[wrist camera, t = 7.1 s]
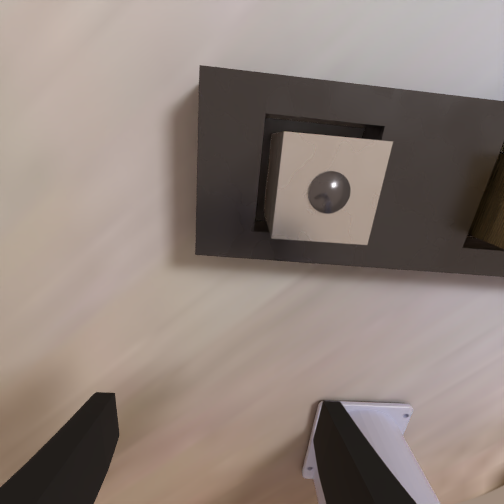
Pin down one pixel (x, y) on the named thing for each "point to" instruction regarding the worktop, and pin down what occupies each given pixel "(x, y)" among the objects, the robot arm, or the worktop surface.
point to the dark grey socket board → (395, 180)
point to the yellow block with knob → (491, 209)
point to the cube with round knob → (323, 187)
